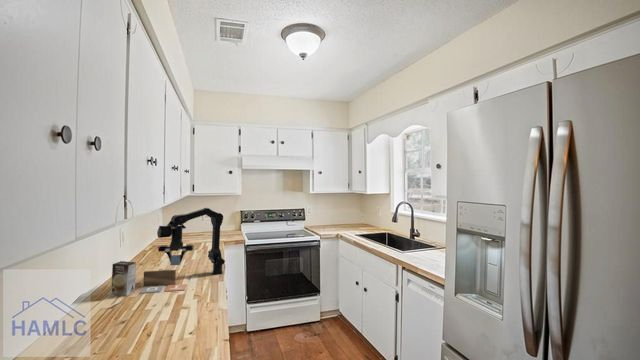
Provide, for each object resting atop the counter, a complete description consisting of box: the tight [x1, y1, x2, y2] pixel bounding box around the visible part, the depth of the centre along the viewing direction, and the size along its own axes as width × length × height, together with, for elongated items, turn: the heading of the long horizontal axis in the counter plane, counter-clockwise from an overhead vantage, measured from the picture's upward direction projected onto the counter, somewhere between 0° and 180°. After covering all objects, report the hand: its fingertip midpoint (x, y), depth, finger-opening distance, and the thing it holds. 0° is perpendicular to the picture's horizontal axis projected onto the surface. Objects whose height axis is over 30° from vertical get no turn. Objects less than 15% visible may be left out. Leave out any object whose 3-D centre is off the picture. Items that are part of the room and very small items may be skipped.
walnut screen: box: [142, 269, 177, 288], centre depth 174 cm, size 2×16×8 cm, turn 107°
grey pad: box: [139, 285, 165, 295], centre depth 166 cm, size 10×10×1 cm
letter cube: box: [169, 254, 182, 266], centre depth 182 cm, size 5×5×5 cm
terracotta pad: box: [164, 283, 188, 293], centre depth 169 cm, size 10×10×1 cm
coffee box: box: [110, 260, 137, 297], centre depth 159 cm, size 9×6×16 cm
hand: (175, 262), depth 182 cm, fingers closed on letter cube, 5 cm apart
